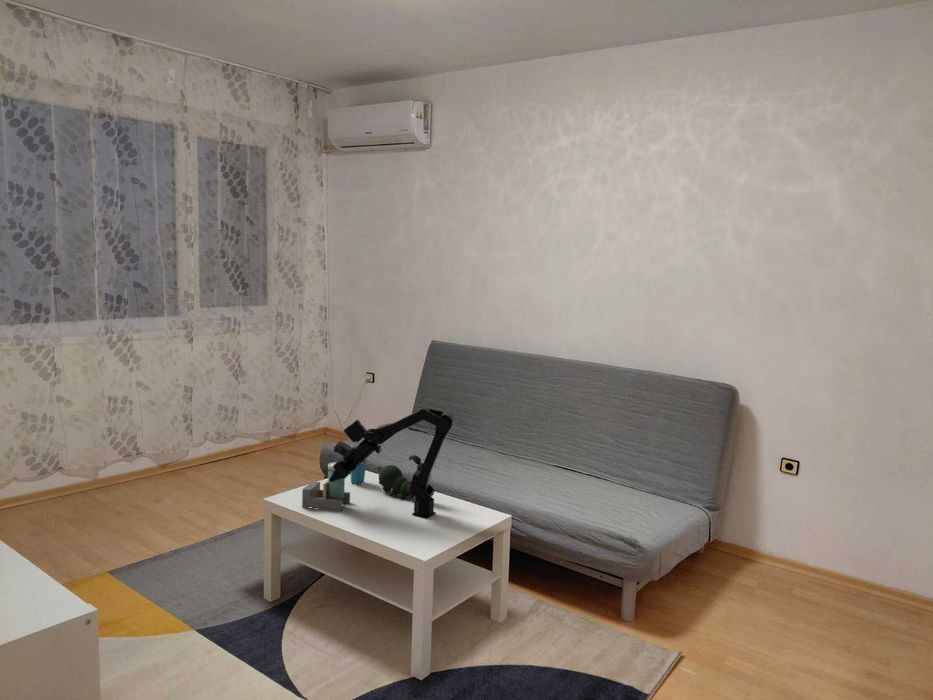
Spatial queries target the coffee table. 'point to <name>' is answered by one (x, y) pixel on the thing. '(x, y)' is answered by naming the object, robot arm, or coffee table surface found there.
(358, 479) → the cup
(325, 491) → the pusher plate
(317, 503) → the pusher lane
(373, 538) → the coffee table surface
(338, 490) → the jar
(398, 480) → the toy figurine
